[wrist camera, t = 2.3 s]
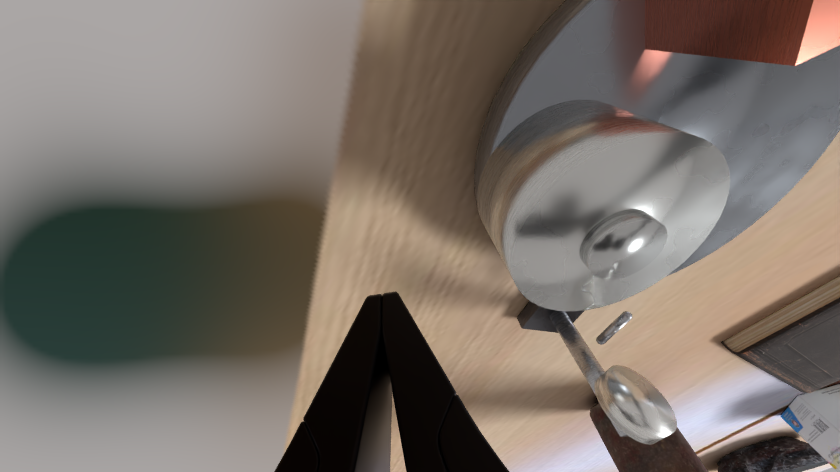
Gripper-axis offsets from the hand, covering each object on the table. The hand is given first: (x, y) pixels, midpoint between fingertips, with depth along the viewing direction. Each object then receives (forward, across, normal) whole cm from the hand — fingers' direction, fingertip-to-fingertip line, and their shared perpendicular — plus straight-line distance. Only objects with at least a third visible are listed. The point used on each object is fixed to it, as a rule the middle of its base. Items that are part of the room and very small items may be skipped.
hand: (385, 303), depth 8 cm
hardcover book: (+9, -45, +25) cm, 52 cm away
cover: (+5, -8, 0) cm, 9 cm away
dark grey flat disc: (+9, -66, +72) cm, 98 cm away
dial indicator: (+9, -12, +12) cm, 19 cm away
